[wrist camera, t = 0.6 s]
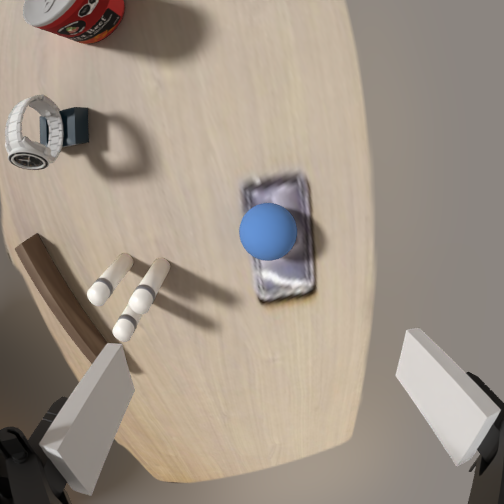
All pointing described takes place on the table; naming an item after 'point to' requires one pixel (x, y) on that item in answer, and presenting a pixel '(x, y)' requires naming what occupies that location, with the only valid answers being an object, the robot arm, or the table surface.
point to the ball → (268, 231)
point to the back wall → (60, 297)
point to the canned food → (75, 17)
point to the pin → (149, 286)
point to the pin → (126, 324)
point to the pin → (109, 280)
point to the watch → (44, 133)
